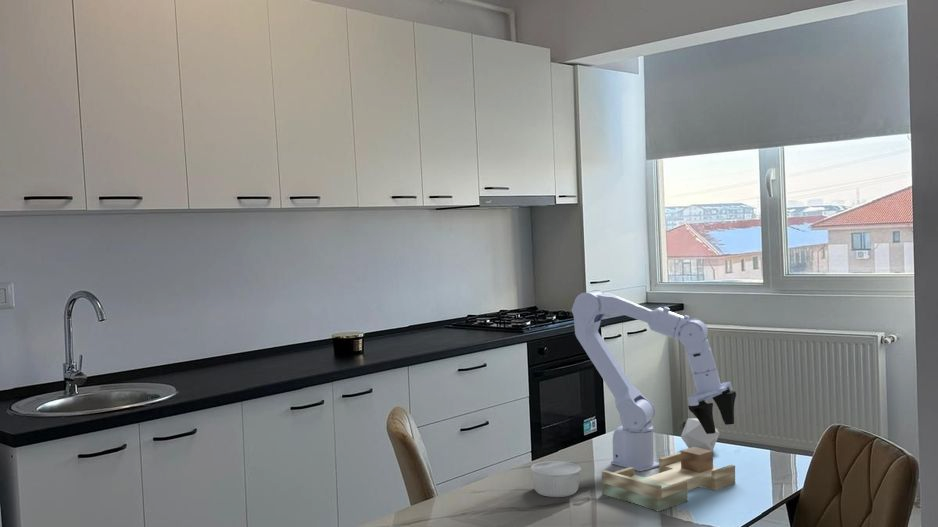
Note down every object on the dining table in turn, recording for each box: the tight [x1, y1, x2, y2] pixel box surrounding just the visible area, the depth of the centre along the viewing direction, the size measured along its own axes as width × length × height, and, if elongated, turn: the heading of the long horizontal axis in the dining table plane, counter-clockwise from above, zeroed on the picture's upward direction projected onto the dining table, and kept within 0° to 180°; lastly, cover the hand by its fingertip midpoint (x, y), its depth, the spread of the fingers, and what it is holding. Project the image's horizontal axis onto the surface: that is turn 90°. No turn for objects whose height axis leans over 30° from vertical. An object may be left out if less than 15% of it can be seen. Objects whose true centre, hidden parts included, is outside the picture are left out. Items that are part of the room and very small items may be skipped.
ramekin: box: [529, 460, 582, 498], centre depth 180 cm, size 11×11×5 cm
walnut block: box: [680, 447, 714, 473], centre depth 186 cm, size 5×5×4 cm
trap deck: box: [601, 452, 736, 512], centre depth 179 cm, size 15×27×5 cm, turn 129°
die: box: [680, 417, 720, 452], centre depth 210 cm, size 8×9×10 cm
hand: (720, 428), depth 189 cm, fingers open, 7 cm apart
